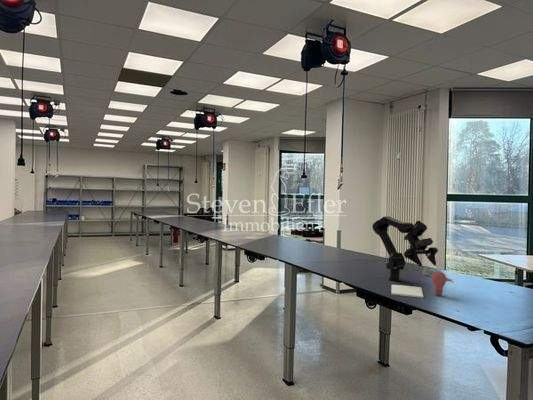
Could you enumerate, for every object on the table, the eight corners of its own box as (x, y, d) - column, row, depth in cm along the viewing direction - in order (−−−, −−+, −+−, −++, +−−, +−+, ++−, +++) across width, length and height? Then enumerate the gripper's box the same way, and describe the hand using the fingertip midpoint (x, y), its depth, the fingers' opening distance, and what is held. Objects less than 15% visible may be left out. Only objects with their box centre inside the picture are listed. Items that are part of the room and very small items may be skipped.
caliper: (423, 275, 246) (423, 265, 246) (424, 275, 247) (424, 265, 247) (452, 282, 229) (453, 271, 229) (453, 282, 229) (454, 271, 229)
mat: (391, 285, 215) (391, 284, 215) (420, 288, 210) (421, 287, 210) (391, 294, 197) (391, 292, 197) (423, 297, 192) (423, 296, 192)
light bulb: (432, 292, 203) (433, 269, 203) (447, 295, 199) (448, 271, 198) (428, 295, 198) (429, 271, 197) (443, 297, 193) (444, 273, 193)
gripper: (408, 232, 206) (422, 257, 196) (436, 232, 213) (451, 256, 203) (397, 245, 214) (410, 269, 204) (425, 244, 220) (439, 268, 210)
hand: (428, 265), depth 205 cm, fingers open, 9 cm apart
